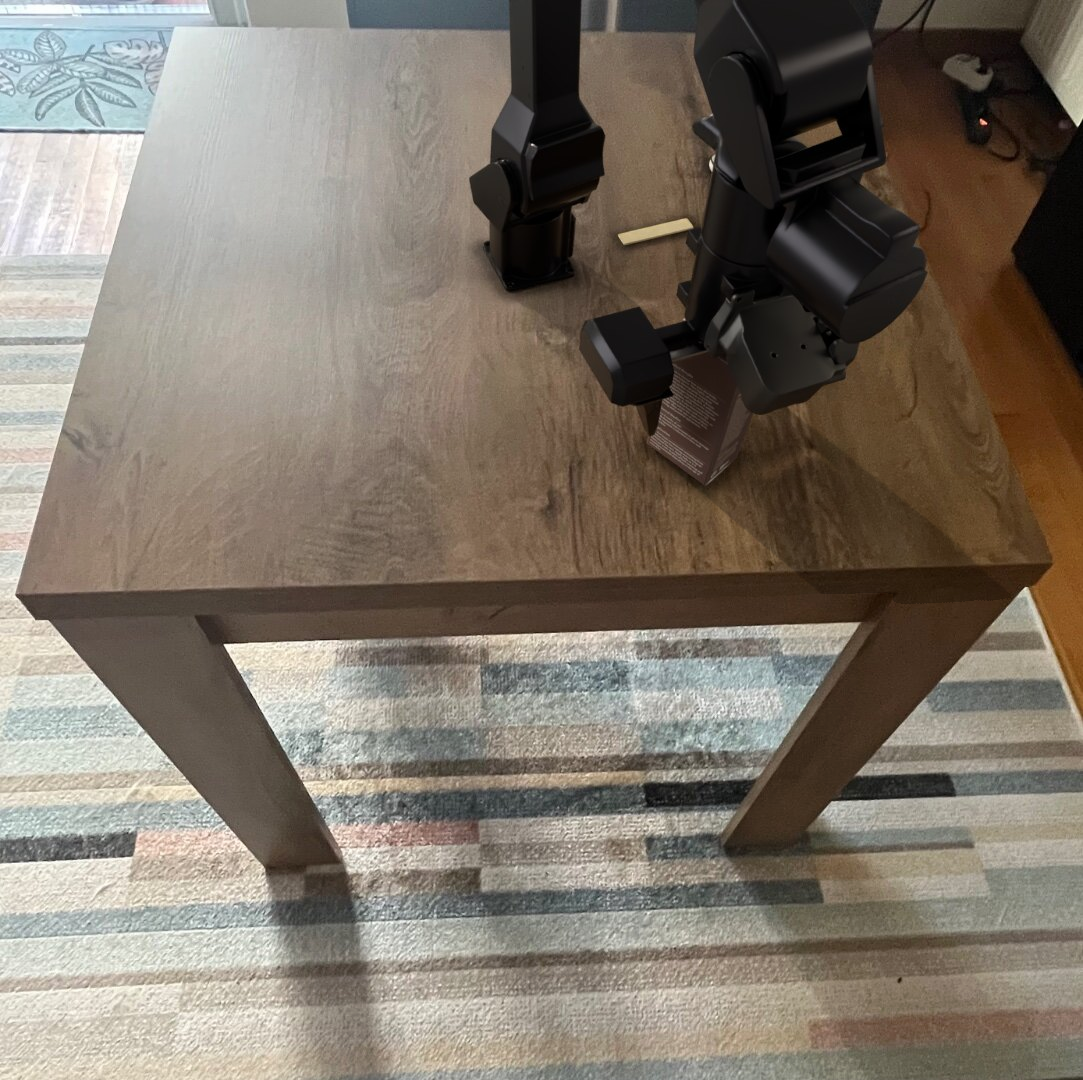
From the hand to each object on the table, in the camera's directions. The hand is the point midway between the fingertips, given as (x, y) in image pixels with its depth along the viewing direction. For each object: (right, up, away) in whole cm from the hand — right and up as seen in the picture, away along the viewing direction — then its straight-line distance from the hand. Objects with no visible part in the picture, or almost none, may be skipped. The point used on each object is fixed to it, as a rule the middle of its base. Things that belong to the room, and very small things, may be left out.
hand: (705, 414), depth 68 cm
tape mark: (-1, +19, +18) cm, 26 cm away
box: (0, -2, +4) cm, 5 cm away
